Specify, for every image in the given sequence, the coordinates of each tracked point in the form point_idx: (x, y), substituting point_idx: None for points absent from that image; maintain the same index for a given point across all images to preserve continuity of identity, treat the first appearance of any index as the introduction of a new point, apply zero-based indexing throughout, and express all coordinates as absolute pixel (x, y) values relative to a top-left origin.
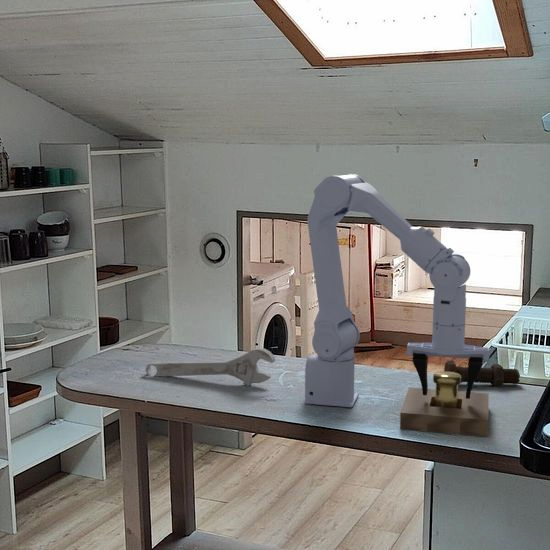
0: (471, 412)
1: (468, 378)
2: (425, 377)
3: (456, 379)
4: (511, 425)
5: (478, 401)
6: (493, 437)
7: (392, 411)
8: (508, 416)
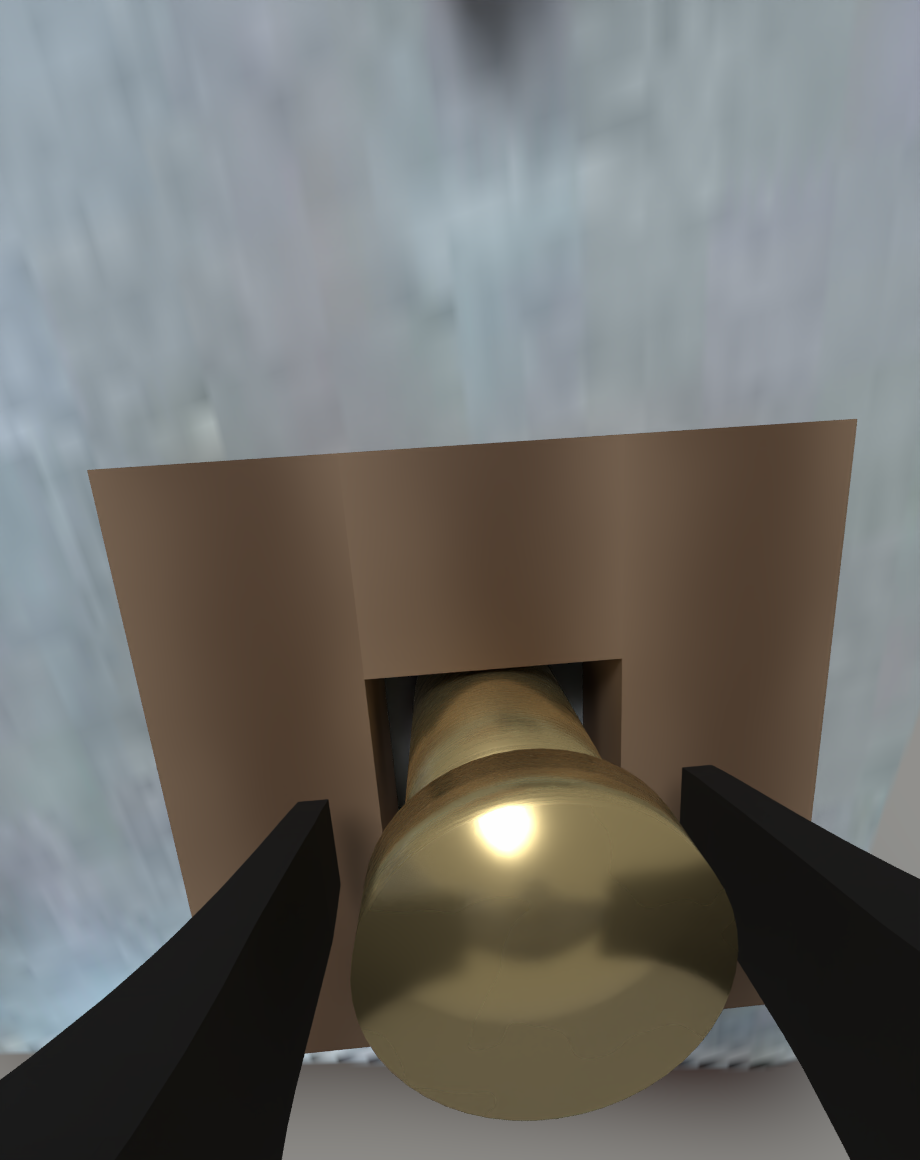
0: None
1: (842, 1122)
2: (281, 1140)
3: (671, 1052)
4: (873, 703)
5: (750, 671)
6: None
7: (125, 700)
8: (880, 549)
